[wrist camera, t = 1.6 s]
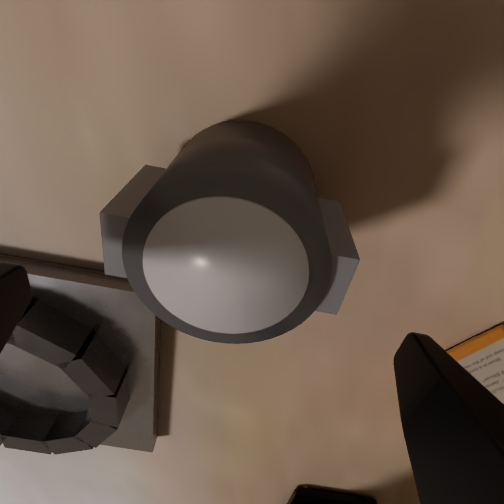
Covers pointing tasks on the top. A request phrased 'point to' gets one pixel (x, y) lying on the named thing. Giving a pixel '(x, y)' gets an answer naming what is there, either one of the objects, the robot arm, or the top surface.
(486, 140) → the top surface
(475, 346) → the supplement box
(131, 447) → the barrel plate
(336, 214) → the domed button housing
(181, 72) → the top surface
